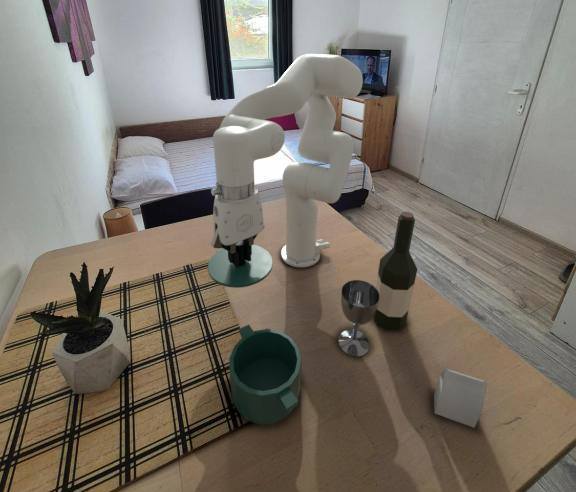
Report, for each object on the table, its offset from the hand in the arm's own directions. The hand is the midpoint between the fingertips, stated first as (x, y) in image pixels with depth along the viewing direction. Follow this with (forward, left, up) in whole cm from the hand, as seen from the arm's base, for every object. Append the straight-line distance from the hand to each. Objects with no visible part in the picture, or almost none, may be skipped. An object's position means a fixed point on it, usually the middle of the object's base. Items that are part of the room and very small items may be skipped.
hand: (240, 260), depth 73 cm
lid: (0, 0, -1) cm, 1 cm away
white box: (-34, +33, -19) cm, 51 cm away
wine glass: (-23, +14, -19) cm, 33 cm away
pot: (-1, +18, -18) cm, 26 cm away
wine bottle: (-35, +10, -19) cm, 41 cm away
